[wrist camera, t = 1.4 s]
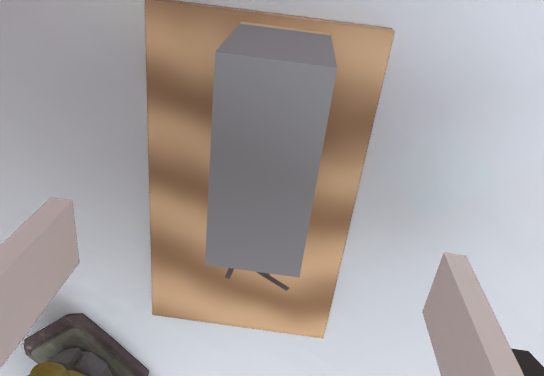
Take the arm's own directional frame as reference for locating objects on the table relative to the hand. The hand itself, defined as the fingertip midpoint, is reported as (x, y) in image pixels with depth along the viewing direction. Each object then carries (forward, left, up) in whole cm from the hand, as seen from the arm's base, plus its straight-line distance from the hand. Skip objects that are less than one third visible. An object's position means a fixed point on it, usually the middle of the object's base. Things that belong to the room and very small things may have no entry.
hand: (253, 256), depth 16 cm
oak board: (+6, -1, -15) cm, 16 cm away
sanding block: (0, 0, -14) cm, 14 cm away
